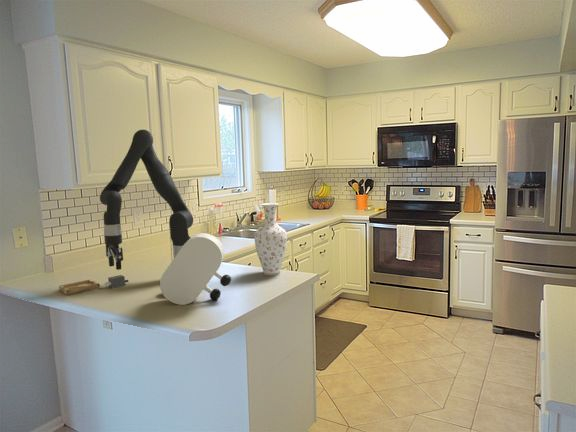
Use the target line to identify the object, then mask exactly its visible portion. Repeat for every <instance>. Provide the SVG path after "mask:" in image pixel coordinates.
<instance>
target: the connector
mask: <svg viewBox="0 0 576 432" xmlns="http://www.w3.org/2000/svg"><path fill="white" fill-rule="evenodd" d="M107 279H108V281H106V282H104V285H105V286H107V287H108V288H111V289H115V288H120V287H125V286H126V283H129V279H125V276H124V275H122V274H120V275H118V274H117V275H114V276H109V277H108V278H107Z"/></svg>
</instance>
